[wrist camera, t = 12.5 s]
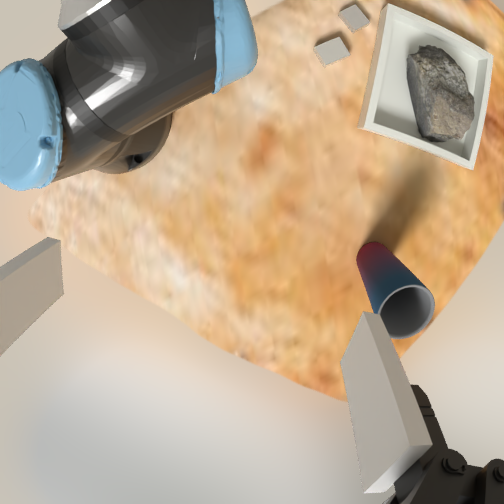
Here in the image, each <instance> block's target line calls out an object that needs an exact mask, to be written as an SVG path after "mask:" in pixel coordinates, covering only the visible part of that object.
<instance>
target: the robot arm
mask: <svg viewBox="0 0 504 504" xmlns="http://www.w3.org/2000/svg"><path fill="white" fill-rule="evenodd" d="M61 4H62V6H61V11H60V17H59V22H58V27H59V28H60V30H61V31H62V32H63V33H64V34H65V35H66V36H67V37H68V38H67V39H66V40H64V41H63V42H62V43H61V44H60V45H58V46H57V47H56V48H55V49H54V50H52V51H51V52H50V53H49V54H48V55H47V56H46V57H44V58H43V59H41V60H39V61H36V60H34V59H30V58H28V59H23V60H21V61H16V62H13V63H11V64H9V65H8V66H6V67H5V68H4V69H3V70H2V71H1V72H0V182H1V183H3V184H5V185H7V186H8V187H9V188H11V189H13V190H18V191H24V190H29V189H33V188H42V187H46V186H47V185H49V184H50V183H52V182H55V181H58V180H61V179H64V178H67V177H70V176H73V175H76V174H79V173H82V172H85V171H88V170H91V169H95V170H98V171H101V172H104V173H109V174H121V173H126V172H130V171H132V170H135V169H138V168H140V167H142V166H144V165H145V164H147V163H148V162H150V161H151V160H152V159H153V158H154V157H155V156H156V155H157V154H158V153H159V151H160V150H161V148H162V147H163V145H164V143H165V141H166V139H167V137H168V134H169V130H170V126H171V113H172V112H174V111H176V110H178V109H180V108H181V107H183V106H185V105H187V104H189V103H191V102H193V101H195V100H197V99H199V98H201V97H203V96H205V95H207V94H209V93H212V94H216V93H217V92H219V90H220V89H221V88H222V87H224V86H226V85H228V84H230V83H232V82H234V81H236V80H238V79H240V78H242V77H244V76H246V75H248V74H249V73H250V72H251V71H252V70H253V68H254V67H255V65H256V63H257V58H258V48H257V42H256V37H255V32H254V28H253V25H252V21H251V18H250V15H249V11H248V8H247V5H246V2H245V0H61ZM63 294H64V292H63V280H62V265H61V242H60V240H57V239H53V238H50V237H47V238H46V239H44V240H42V241H41V242H39V243H37V244H36V245H34V246H32V247H31V248H29V249H28V250H26V251H24V252H23V253H21V254H20V255H18V256H17V257H15V258H13V259H12V260H10V261H9V262H7V263H6V264H4V265H3V266H1V267H0V356H1V355H2V354H3V353H4V352H5V351H6V350H7V349H8V348H9V347H10V346H11V345H12V344H13V343H14V342H15V341H16V340H17V339H18V338H19V337H20V336H21V335H22V334H23V333H24V332H25V330H27V329H28V328H29V327H30V326H31V325H32V324H33V323H34V322H35V321H36V320H37V319H38V318H39V317H40V316H41V315H42V314H43V313H44V312H45V311H46V310H47V309H48V308H49V307H50V306H51V305H53V304H54V303H55V302H56V301H57V300H58V299H59V298H60V297H61V296H62V295H63ZM340 364H341V369H342V373H343V378H344V383H345V388H346V393H347V399H348V403H349V409H350V414H351V420H352V426H353V431H354V437H355V442H356V449H357V455H358V461H359V468H360V475H361V481H362V488H363V493H375V492H376V493H377V492H385V491H386V490H387V489H388V488H389V487H390V486H391V485H392V484H394V486H395V491H396V492H395V493H394V494H393V495H392V496H391V497H390V498H388V499H387V500H386V501H385V502H383V503H382V504H504V461H503V460H501V459H494V460H491V461H490V462H489V463H488V464H487V465H486V466H485V467H484V468H482V467H477V466H471V465H467V462H466V460H465V459H464V457H463V456H462V455H461V454H459V453H458V452H457V451H455V450H452V449H448V447H447V444H446V441H445V439H444V436H443V434H442V431H441V428H440V426H439V423H438V421H437V418H436V417H435V414H434V411H433V409H432V408H431V404H430V402H429V399H428V397H427V395H426V394H425V393H424V392H423V390H422V389H421V388H420V387H419V386H418V385H410V383H409V381H408V378H407V376H406V374H405V371H404V369H403V366H402V364H401V361H400V359H399V357H398V354H397V352H396V350H395V348H394V345H393V343H392V341H391V338H390V336H389V334H388V332H387V330H386V327H385V325H384V323H383V321H382V319H381V316H380V314H375V313H369V312H364V311H363V313H362V315H361V317H360V320H359V322H358V324H357V327H356V329H355V331H354V333H353V336H352V338H351V340H350V342H349V344H348V347H347V349H346V351H345V353H344V355H343V357H342V359H341V361H340Z"/></svg>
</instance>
